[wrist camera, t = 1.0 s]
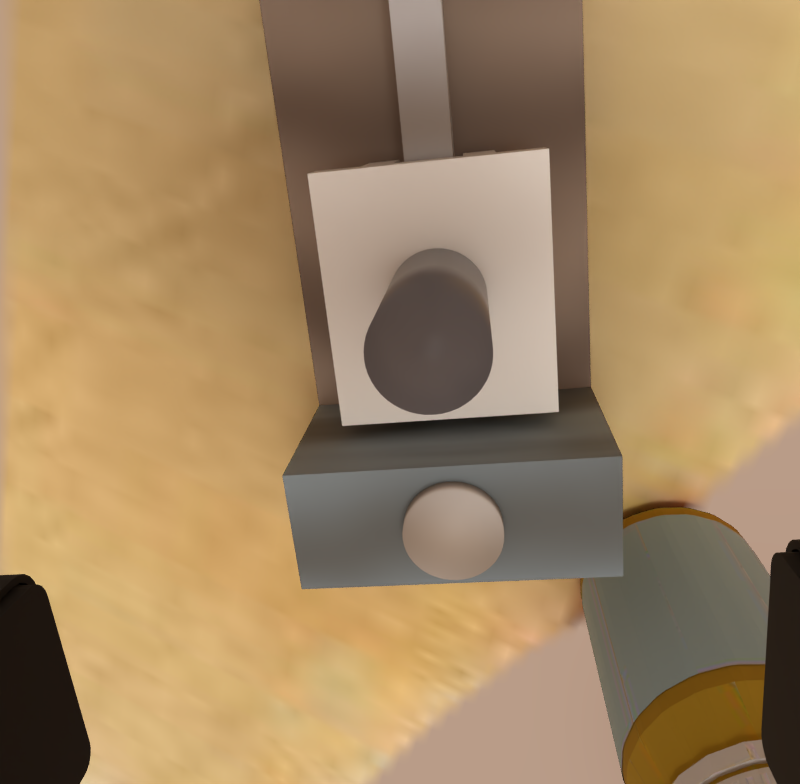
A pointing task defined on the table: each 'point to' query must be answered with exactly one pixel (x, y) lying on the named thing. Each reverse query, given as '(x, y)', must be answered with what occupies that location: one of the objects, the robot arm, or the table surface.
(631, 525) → the bottle
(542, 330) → the carriage
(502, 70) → the rail track
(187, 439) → the table surface
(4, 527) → the table surface
